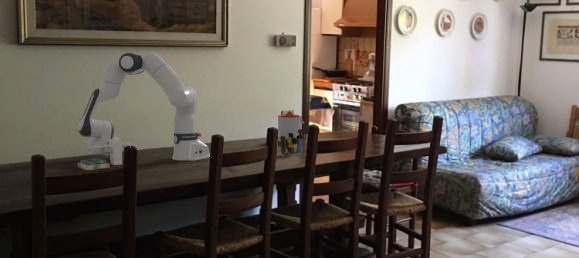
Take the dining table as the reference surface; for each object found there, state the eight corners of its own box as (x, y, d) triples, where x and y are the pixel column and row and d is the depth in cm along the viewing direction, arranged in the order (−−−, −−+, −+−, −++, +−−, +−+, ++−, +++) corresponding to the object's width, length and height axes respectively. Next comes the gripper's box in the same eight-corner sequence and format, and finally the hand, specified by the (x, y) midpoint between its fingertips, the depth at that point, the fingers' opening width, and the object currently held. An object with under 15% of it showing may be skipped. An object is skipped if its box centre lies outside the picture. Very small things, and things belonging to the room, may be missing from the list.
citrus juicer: (307, 142, 387) (307, 111, 384) (281, 144, 382) (281, 112, 380) (300, 139, 402) (300, 109, 399) (275, 140, 397) (274, 110, 395)
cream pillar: (118, 163, 315) (117, 136, 313) (122, 164, 312) (121, 137, 310) (110, 164, 312) (109, 137, 311) (114, 165, 309) (113, 138, 307)
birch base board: (100, 164, 313) (100, 157, 312) (110, 167, 304) (109, 160, 303) (77, 167, 305) (77, 160, 305) (86, 170, 296) (86, 163, 296)
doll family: (292, 150, 357) (291, 127, 355) (306, 150, 354) (306, 128, 352) (277, 156, 335) (277, 132, 334) (293, 157, 332) (292, 132, 331)
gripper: (86, 142, 314) (96, 145, 303) (123, 139, 327) (134, 141, 316) (86, 154, 315) (97, 158, 304) (123, 150, 328) (135, 153, 317)
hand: (116, 149), depth 310 cm, fingers closed on cream pillar, 4 cm apart
